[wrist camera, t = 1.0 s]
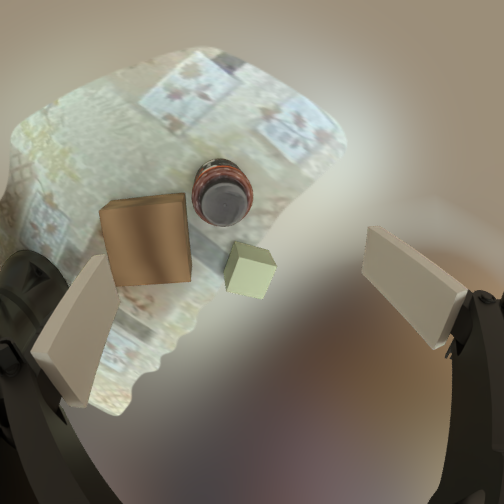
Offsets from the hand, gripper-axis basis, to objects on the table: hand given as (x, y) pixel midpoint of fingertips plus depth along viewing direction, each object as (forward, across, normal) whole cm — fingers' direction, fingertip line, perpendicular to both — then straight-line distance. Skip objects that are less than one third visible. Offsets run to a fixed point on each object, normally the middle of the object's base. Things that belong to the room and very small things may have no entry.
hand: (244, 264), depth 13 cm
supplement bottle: (+23, 0, 0) cm, 23 cm away
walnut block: (+23, -10, -6) cm, 25 cm away
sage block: (+22, +3, -12) cm, 25 cm away
